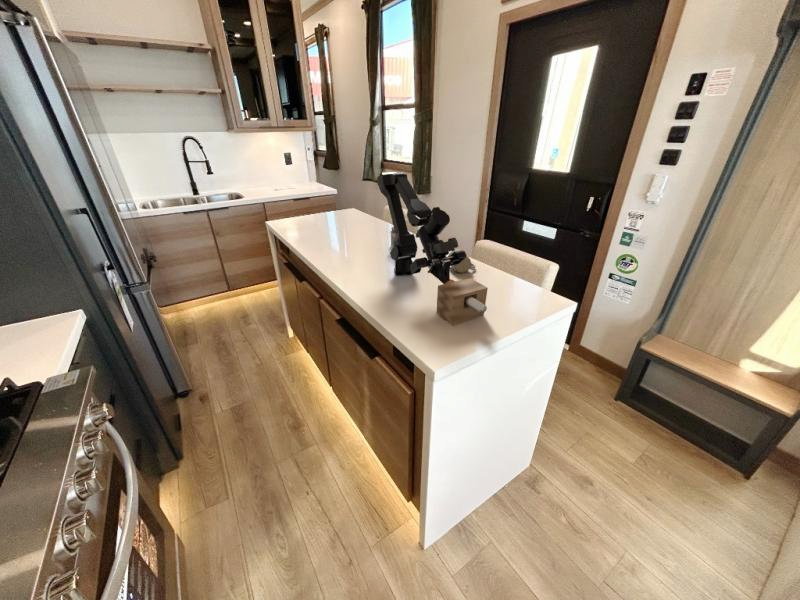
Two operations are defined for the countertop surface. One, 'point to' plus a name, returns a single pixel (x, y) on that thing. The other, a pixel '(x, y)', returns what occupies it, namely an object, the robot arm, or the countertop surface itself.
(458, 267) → the ceramic mug
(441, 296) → the hitch block
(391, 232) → the french press
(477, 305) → the steel pin
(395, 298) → the countertop surface
